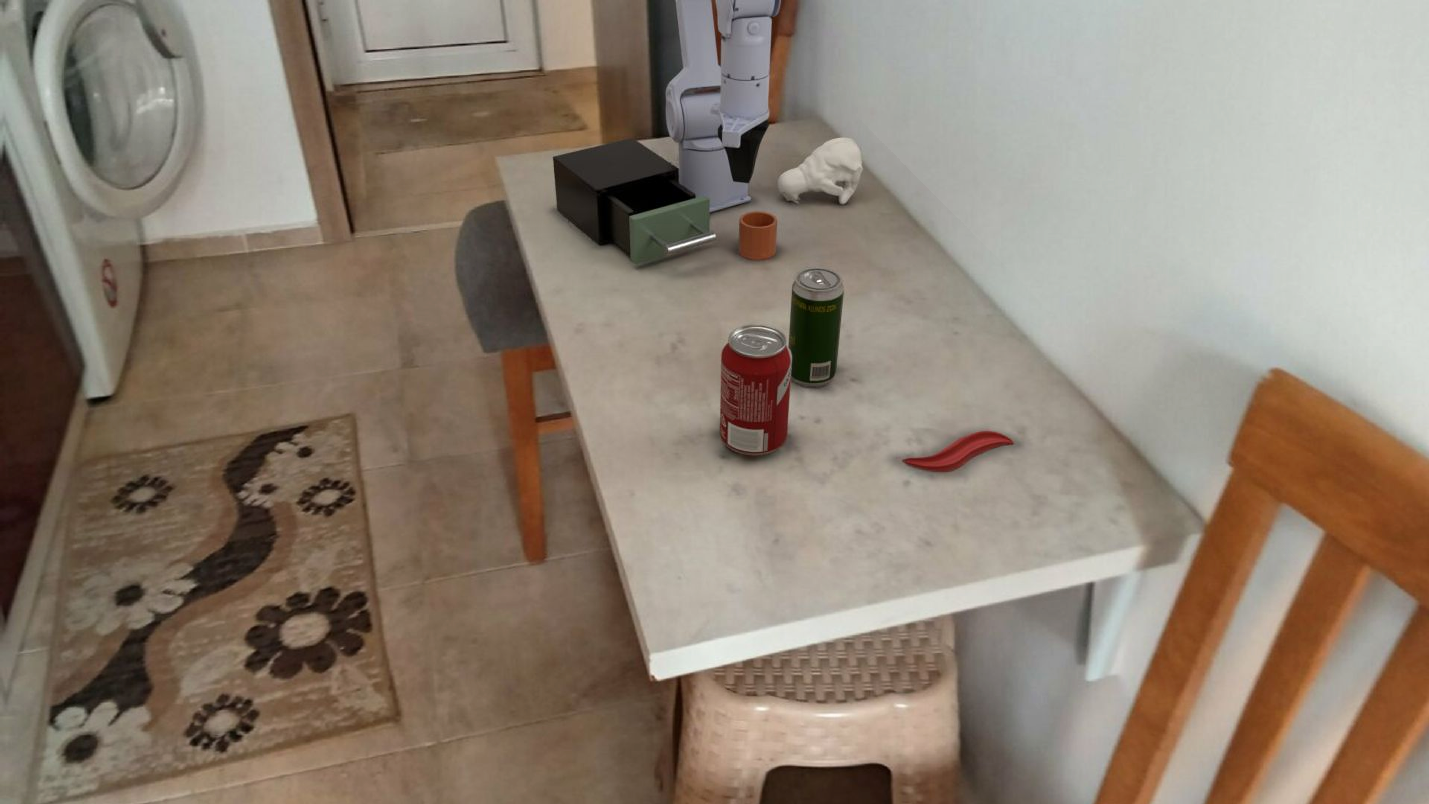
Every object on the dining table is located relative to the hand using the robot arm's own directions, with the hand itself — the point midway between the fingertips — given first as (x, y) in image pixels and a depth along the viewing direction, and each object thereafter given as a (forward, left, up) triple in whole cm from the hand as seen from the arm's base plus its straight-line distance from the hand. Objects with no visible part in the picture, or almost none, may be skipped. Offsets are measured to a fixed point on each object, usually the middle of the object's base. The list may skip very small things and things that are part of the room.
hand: (742, 180), depth 134 cm
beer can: (+9, +27, -11) cm, 30 cm away
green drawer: (+8, -7, -10) cm, 14 cm away
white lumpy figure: (-19, -8, -11) cm, 23 cm away
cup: (-2, +1, -10) cm, 11 cm away
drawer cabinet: (+8, -18, -10) cm, 22 cm away
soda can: (+21, +33, -11) cm, 41 cm away
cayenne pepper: (+5, +46, -11) cm, 48 cm away
